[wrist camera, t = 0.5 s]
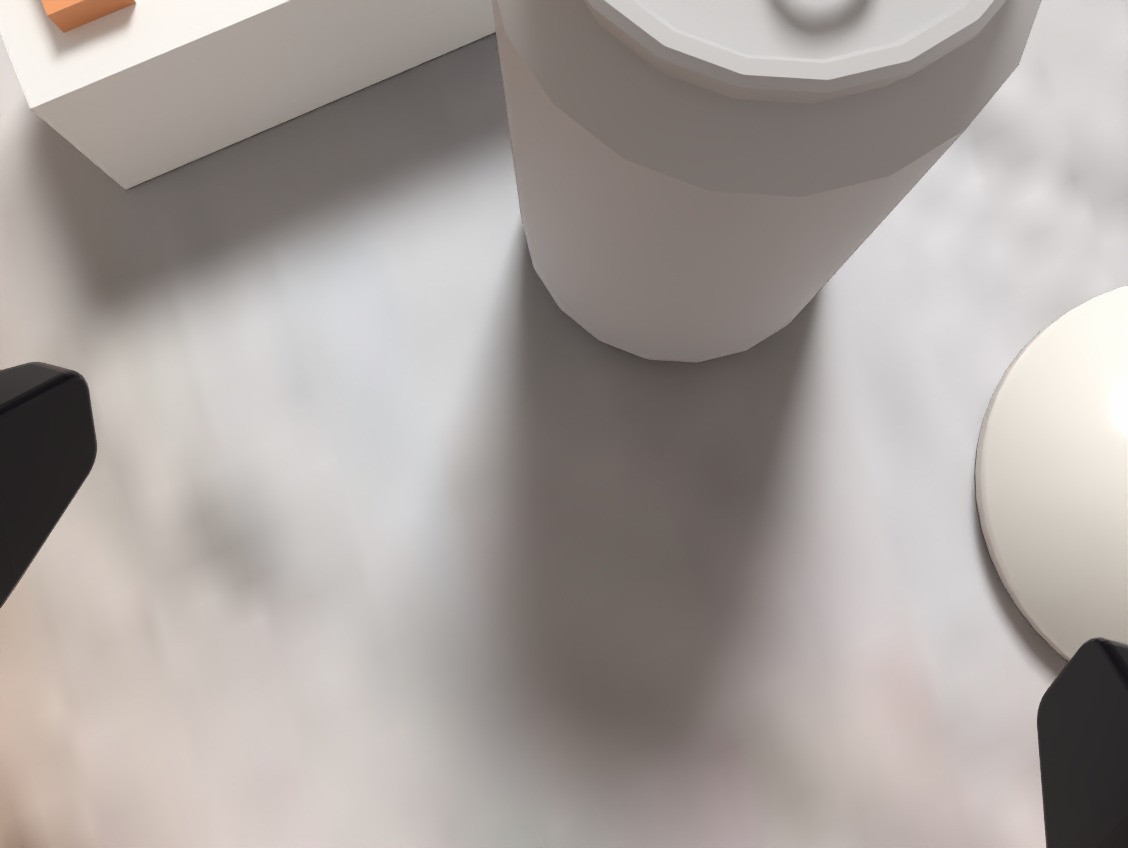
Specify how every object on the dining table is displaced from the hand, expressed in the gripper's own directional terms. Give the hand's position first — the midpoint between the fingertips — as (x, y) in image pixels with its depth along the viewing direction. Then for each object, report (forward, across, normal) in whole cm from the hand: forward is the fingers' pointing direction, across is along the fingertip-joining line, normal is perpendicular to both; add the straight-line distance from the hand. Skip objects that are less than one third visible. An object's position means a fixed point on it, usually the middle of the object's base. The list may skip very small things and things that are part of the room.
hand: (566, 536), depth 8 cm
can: (+16, 0, +3) cm, 16 cm away
